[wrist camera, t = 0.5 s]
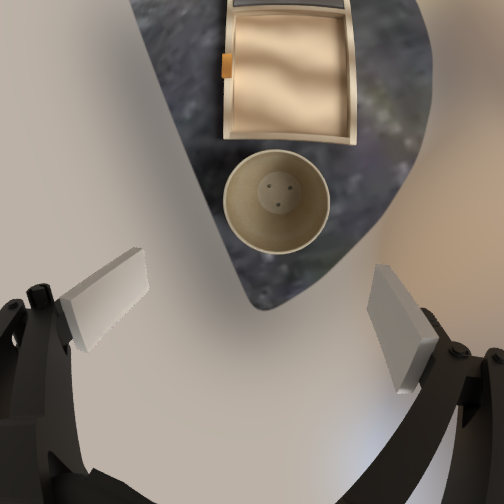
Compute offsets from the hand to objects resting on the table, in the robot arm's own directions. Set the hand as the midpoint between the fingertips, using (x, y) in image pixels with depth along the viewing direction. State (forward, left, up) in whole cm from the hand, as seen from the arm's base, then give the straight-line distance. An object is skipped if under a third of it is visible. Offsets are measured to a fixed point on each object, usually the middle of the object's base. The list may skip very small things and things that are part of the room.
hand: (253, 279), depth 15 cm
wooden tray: (-19, +1, -19) cm, 27 cm away
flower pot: (-2, 0, -19) cm, 19 cm away
